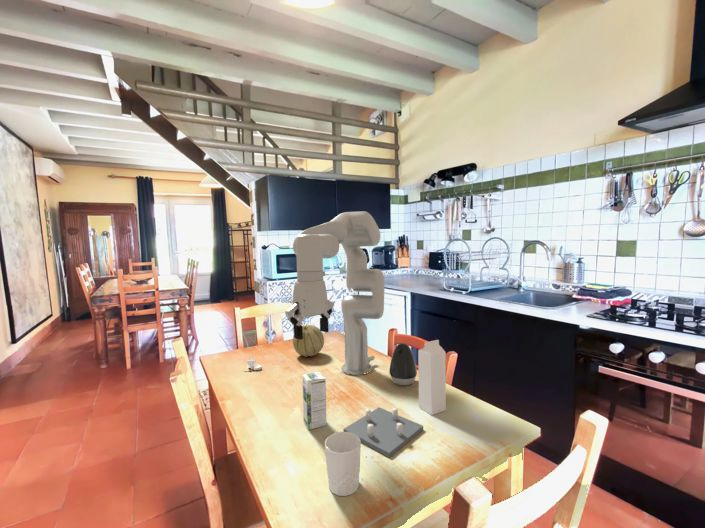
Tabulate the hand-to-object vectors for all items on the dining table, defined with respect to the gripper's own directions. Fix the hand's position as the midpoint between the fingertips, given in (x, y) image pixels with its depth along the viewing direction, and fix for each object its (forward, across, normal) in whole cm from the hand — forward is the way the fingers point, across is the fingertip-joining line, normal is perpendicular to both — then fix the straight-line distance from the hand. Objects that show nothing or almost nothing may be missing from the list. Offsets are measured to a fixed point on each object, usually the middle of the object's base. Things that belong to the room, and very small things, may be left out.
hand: (311, 335), depth 97 cm
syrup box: (+27, 0, 0) cm, 27 cm away
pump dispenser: (+27, -40, +4) cm, 48 cm away
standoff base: (+27, -10, +18) cm, 34 cm away
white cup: (+27, +12, +24) cm, 38 cm away
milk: (+27, -30, +22) cm, 46 cm away
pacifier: (+27, -8, -52) cm, 59 cm away
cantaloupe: (+26, -36, -47) cm, 65 cm away
